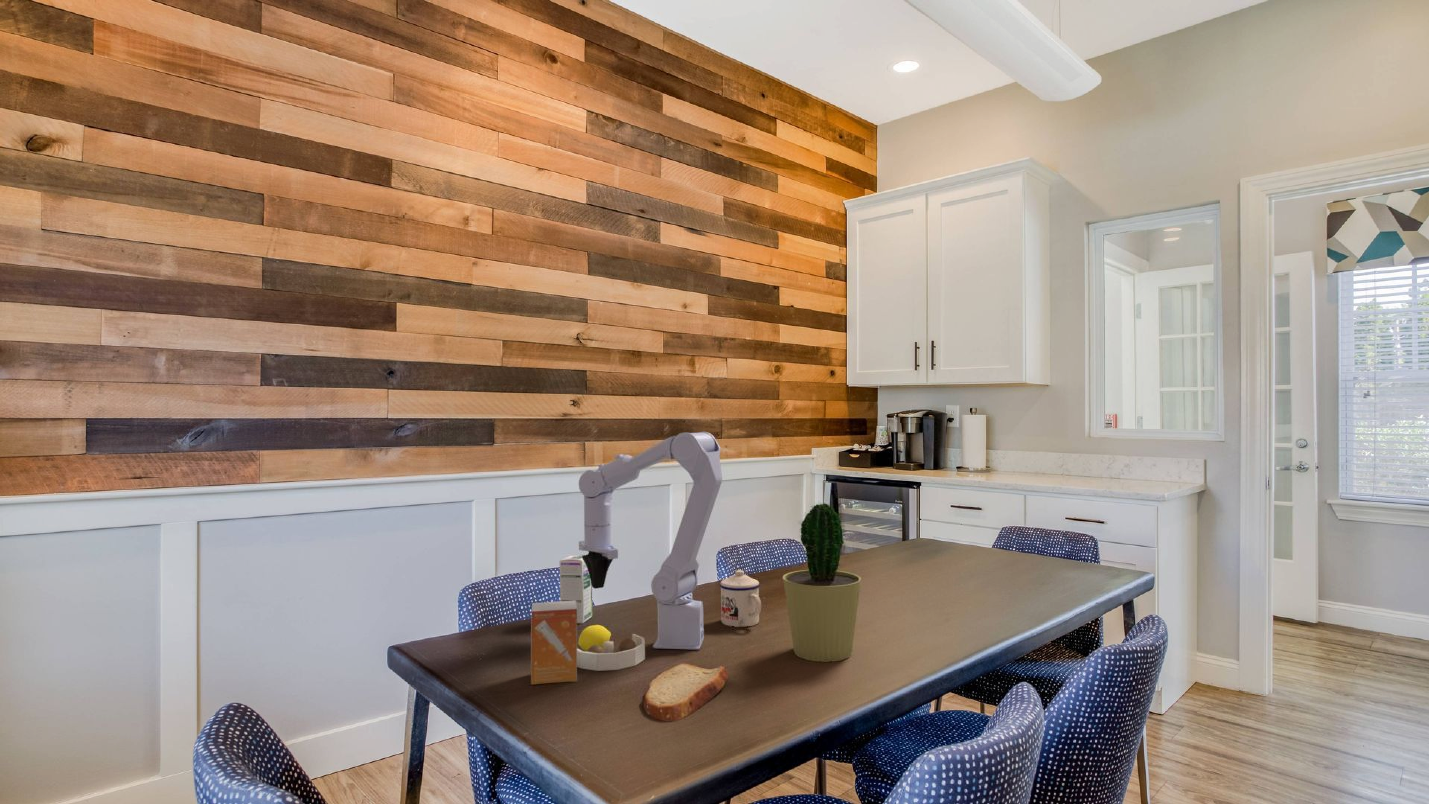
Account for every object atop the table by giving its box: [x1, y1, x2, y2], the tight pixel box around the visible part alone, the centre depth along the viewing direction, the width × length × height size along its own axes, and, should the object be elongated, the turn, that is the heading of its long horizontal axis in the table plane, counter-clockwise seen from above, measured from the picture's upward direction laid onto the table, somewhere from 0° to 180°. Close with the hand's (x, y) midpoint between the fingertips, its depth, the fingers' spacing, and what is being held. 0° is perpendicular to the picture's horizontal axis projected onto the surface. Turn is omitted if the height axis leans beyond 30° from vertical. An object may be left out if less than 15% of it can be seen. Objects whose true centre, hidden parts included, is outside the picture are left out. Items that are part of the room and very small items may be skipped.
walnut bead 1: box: [587, 645, 604, 653], centre depth 140 cm, size 3×3×3 cm
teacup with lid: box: [719, 569, 762, 628], centre depth 166 cm, size 12×9×12 cm
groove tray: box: [577, 633, 646, 672], centre depth 143 cm, size 12×14×3 cm
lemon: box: [577, 624, 612, 652], centre depth 147 cm, size 7×5×5 cm
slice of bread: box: [643, 663, 730, 722], centre depth 124 cm, size 18×18×4 cm
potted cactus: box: [782, 502, 862, 663], centre depth 146 cm, size 15×15×30 cm
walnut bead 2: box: [618, 637, 636, 652], centre depth 144 cm, size 3×3×3 cm
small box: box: [530, 600, 578, 685], centre depth 133 cm, size 8×6×13 cm
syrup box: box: [559, 554, 594, 624], centre depth 171 cm, size 6×6×14 cm
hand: (598, 587), depth 160 cm, fingers closed
